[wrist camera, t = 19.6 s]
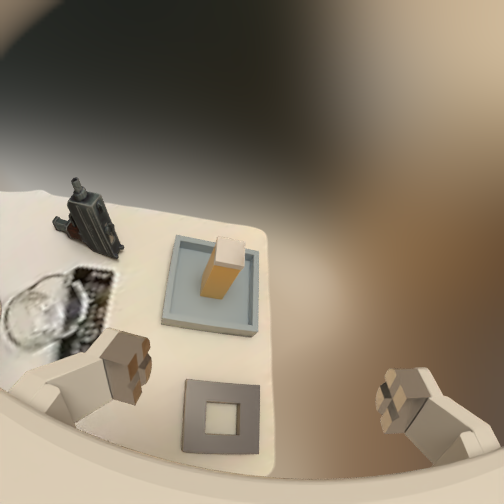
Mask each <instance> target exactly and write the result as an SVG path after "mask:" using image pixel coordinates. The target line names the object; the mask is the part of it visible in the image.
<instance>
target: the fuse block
mask: <svg viewBox="0 0 504 504" xmlns="http://www.w3.org/2000/svg"><path fill="white" fill-rule="evenodd" d="M206 402H216V403H231V404H237V423H236V435H224V434H206V433H205V423H206ZM259 420H260V385H246V384H232V383H220V382H210V381H201V380H192V379H186V382H185V396H184V412H183V431H182V451H183V452H193V453H209V454H259Z"/></svg>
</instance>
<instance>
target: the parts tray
mask: <svg viewBox="0 0 504 504" xmlns="http://www.w3.org/2000/svg"><path fill="white" fill-rule="evenodd" d="M215 244H216V243H215V242H210V241H205V240H200V239H195V238H190V237H185V236H180V235H176V238H175V243H174V248H173V253H172V259H171V264H170V270H169V276H168V282H167V288H166V295H165V301H164V308H163V315H162V322H161V324H163V325H169V326H175V327H181V328H187V329H194V330H200V331H207V332H214V333H222V334H229V335H237V336H246V337H252V336H253V335H255V334H256V333H257V332H258V297H259V251H255V250H250V249H245V266H244V268H243V270H241V271H240V272H239V274H238V276H237V277H236V279H235V280H234V282H233V283H232V285H231V286H230V288H229V290H228V291H227V293H226V294H225V296H224V297H223V299H222V300H221V299H214V298H208V297H202V296H200V290H201V281H202V275H203V272H204V270H205V268H206V265H207V263H208V261H209V258H210V256H211V253H212V251H213V249H214V246H215Z"/></svg>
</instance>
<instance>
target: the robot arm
mask: <svg viewBox="0 0 504 504" xmlns="http://www.w3.org/2000/svg"><path fill="white" fill-rule="evenodd" d="M0 316H1V303H0ZM149 349H150V341H149V339H148V338H146V337H142V336H138V335H135V334H131V333H127V332H124V331H120V330H116V329H112V328H107V329H105V330H104V332H103V333H102V334H101V335H100V336H99V337H98V339H97V340H96V341H95V342H94V343H93V345H92V346H91V347H90V348H89V349H88V351H87V352H86V353H82V352H81V353H78V354H75V355H73V356H70V357H67V358H64V359H61V360H58V361H56V362H53V363H50V364H47V365H44V366H41V367H38V368H35V369H32V370H29V371H27V372H26V373H25V374H24V375H23V376H22V377H21V378H20V379H19V380H18V381H17V383H16V384H15V385H14V386H13V387H12V388H11V389H10V390H9V392H6V391H5V390H3V389H1V388H0V504H504V447H501V446H500V444H499V442H498V441H497V439H496V437H495V435H494V433H493V431H492V429H491V427H490V425H488V424H487V423H485V422H484V421H482V420H481V419H479V418H478V417H476V416H475V415H473V414H472V413H471V412H469V411H468V410H466V409H465V408H463V407H462V406H460V405H459V404H457V403H456V402H454V401H453V400H452V399H450V398H449V397H447V396H443V395H442V393H441V391H440V389H439V387H438V385H437V383H436V382H435V380H434V378H433V376H432V374H431V373H430V371H429V369H427V368H390V369H389V370H388V371H387V373H386V375H385V380H386V382H385V383H383V384H382V385H381V386H380V387H379V389H378V391H377V395H376V407H377V411H378V412H379V413H381V414H382V415H383V416H382V418H381V419H380V421H381V425H382V428H383V431H384V434H392V433H405V435H406V436H407V437H408V438H409V439H410V440H411V441H412V442H413V443H414V444H415V445H416V446H417V447H418V449H419V450H420V451H421V452H422V453H423V454H424V455H425V456H426V457H427V458H428V459H429V460H430V461H431V462H432V463H433V464H434V465H433V466H432V467H431V468H426V469H421V470H416V471H410V472H403V473H396V474H389V475H380V476H371V477H360V478H343V479H292V478H274V477H263V476H252V475H244V474H236V473H229V472H223V471H217V470H211V469H206V468H200V467H196V466H191V465H186V464H182V463H178V462H173V461H169V460H166V459H162V458H158V457H155V456H151V455H148V454H144V453H141V452H138V451H134V450H131V449H128V448H125V447H122V446H119V445H117V444H114V443H111V442H108V441H106V440H103V439H100V438H98V437H95V436H93V435H90V434H88V433H86V432H83V431H81V430H78V429H77V428H76V426H75V424H74V423H75V422H77V421H79V420H80V419H82V418H84V417H85V416H87V415H89V414H90V413H92V412H94V411H95V410H97V409H99V408H100V407H102V406H104V405H105V404H107V403H109V402H110V401H112V399H115V400H118V401H121V402H125V403H128V404H132V405H136V403H137V401H138V399H139V397H140V395H141V393H142V388H141V386H142V385H144V384H146V383H147V381H148V379H149V377H150V373H151V368H152V360H151V357H150V356H149V354H148V351H149Z"/></svg>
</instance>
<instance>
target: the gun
mask: <svg viewBox="0 0 504 504" xmlns="http://www.w3.org/2000/svg"><path fill="white" fill-rule="evenodd" d="M71 182H72V185H73V188H74V192H73V193H74V194H73V195H72V196H71V198H70V199H69V200H68V203H67V206H68V209H69V211H70V214H69V220H68V221H66V220H63V219H60V217H57V216H56V217H55V218H54V220H53V221H52V222H53V225H54V227H55V228H56V230H58V231H61V230H62V231H65V232H66V233H67V235H68V237H69V238H76V239H79V240H81V241H83V242H85V243H86V244H87V245H88V246H89V247H90V248H91V250H92V251H94V252H97V253H100V254H103V255H106V256H110V257H113V258H116V259H118V258H119V257H118V252H119V250H120V249H121V250H123V249H124V245H121V244H120V242H119V239H118V237H117V234H116V232H115V229H114V224H113V223H112V222H111V219H110V217H109V214H108V212H107V209H106V207H105V204H104V201H103V199H102V196H101V194H97V193H92V192H87V191H86V189H85V188H84V187H82V186H81V184H80V181H79V179H78V178H73V179H72V181H71Z"/></svg>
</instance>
